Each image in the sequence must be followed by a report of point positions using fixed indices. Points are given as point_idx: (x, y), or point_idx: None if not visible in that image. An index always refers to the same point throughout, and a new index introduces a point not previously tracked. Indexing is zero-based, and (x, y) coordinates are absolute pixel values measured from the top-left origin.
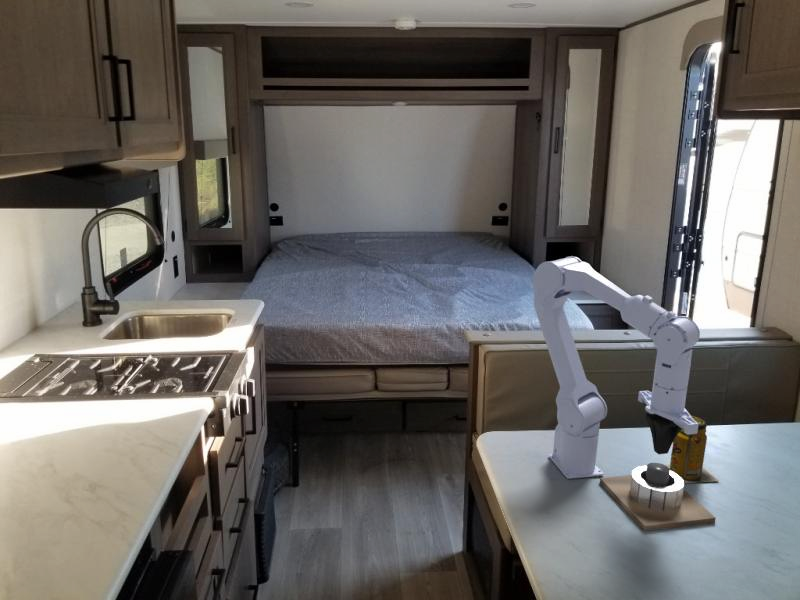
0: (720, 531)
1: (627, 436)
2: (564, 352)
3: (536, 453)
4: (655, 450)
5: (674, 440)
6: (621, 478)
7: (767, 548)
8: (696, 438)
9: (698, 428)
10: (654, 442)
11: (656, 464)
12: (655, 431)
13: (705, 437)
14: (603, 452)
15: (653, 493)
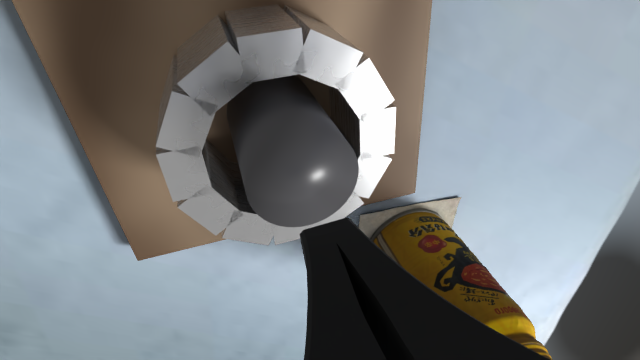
0: (86, 249)
1: (619, 154)
2: None
3: None
4: (334, 228)
5: (488, 291)
6: (412, 24)
7: (15, 333)
8: None
9: None
10: (364, 262)
11: (339, 183)
12: (407, 356)
13: None
14: (593, 39)
15: (170, 89)
